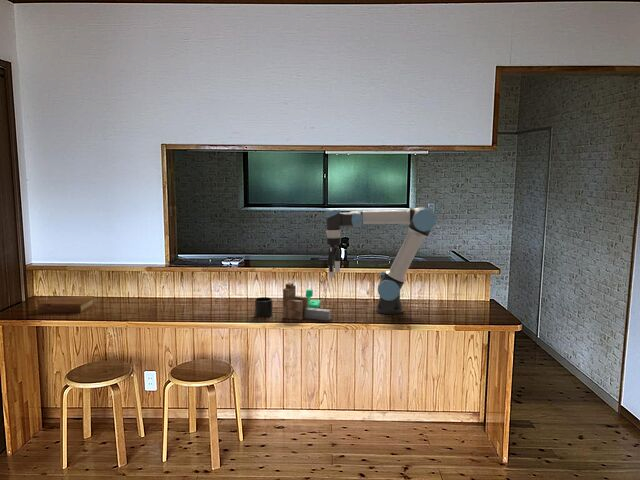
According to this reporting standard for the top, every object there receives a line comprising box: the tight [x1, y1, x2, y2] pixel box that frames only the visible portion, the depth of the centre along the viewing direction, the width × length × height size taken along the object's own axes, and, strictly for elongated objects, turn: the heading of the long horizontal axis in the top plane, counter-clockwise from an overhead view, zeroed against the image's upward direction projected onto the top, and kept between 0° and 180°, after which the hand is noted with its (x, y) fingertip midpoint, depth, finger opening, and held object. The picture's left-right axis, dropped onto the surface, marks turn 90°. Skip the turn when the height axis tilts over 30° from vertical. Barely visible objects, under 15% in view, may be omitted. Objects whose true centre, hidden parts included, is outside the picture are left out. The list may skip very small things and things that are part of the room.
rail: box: [303, 307, 332, 321], centre depth 277 cm, size 20×4×7 cm, turn 72°
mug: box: [254, 297, 273, 318], centre depth 282 cm, size 9×12×9 cm
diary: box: [38, 295, 95, 314], centre depth 292 cm, size 23×19×6 cm
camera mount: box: [305, 289, 322, 309], centre depth 300 cm, size 12×8×10 cm, turn 171°
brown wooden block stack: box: [282, 282, 309, 321], centre depth 279 cm, size 10×11×18 cm
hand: (334, 275), depth 281 cm, fingers open, 13 cm apart
